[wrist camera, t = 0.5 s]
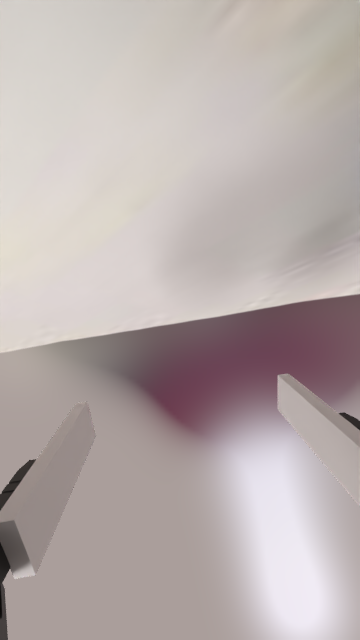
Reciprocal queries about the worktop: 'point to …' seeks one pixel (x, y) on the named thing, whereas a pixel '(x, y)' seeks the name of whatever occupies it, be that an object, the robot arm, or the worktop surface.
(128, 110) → the worktop surface
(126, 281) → the worktop surface
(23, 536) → the robot arm
